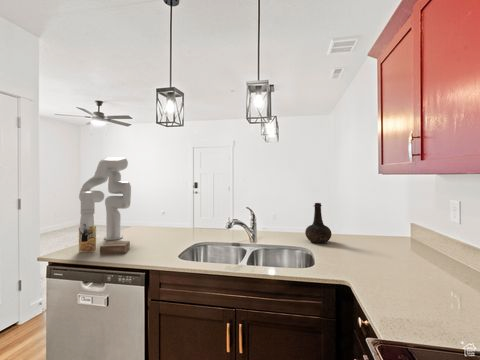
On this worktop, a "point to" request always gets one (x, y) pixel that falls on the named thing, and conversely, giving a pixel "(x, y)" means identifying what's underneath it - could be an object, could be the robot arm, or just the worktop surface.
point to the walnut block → (114, 247)
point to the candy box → (91, 243)
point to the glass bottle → (318, 228)
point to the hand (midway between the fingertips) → (87, 239)
